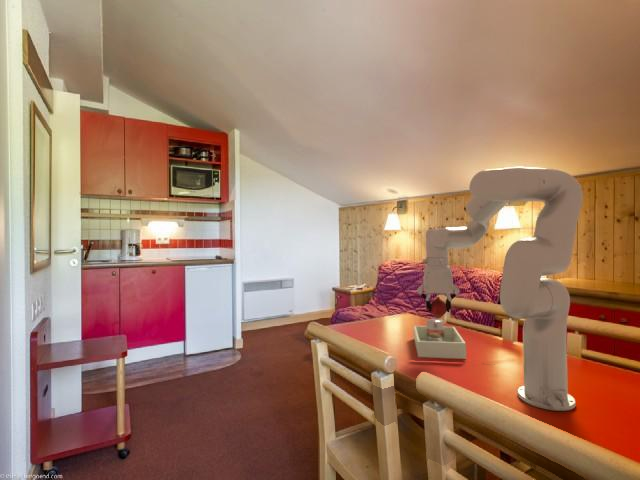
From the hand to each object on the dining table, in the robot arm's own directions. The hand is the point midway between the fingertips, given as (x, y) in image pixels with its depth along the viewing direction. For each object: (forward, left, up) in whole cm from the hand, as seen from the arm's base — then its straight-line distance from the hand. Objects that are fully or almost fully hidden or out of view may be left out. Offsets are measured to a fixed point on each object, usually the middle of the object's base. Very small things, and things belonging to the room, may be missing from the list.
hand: (438, 310), depth 126 cm
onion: (0, 0, -3) cm, 3 cm away
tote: (+5, 0, -16) cm, 17 cm away
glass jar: (+11, 0, -15) cm, 19 cm away
